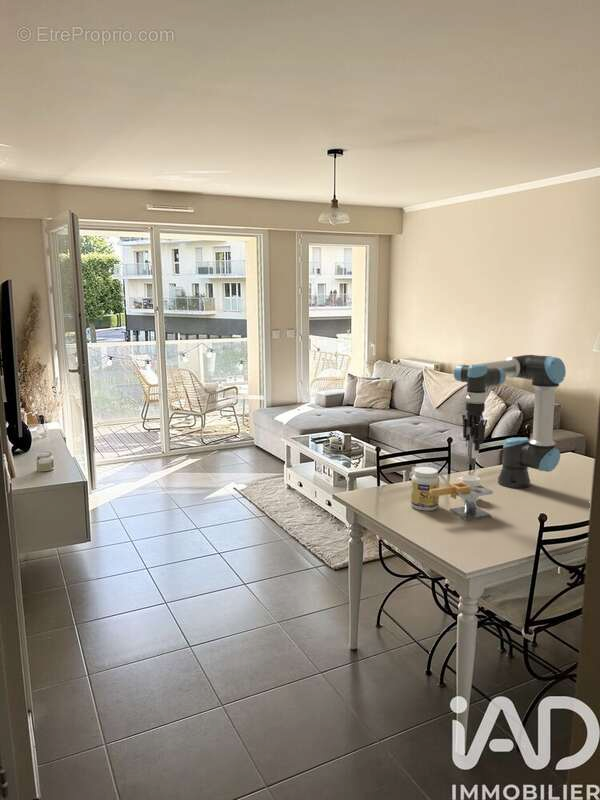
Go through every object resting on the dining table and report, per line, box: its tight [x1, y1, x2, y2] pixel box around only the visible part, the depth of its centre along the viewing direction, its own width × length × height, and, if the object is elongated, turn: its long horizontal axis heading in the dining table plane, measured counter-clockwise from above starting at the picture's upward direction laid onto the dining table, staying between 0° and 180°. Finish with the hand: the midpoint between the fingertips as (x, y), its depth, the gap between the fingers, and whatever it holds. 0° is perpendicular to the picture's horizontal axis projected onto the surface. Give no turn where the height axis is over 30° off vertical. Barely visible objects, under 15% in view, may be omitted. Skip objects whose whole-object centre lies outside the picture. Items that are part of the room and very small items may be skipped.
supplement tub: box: [410, 466, 440, 512], centre depth 261 cm, size 12×12×17 cm
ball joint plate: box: [445, 482, 494, 522], centre depth 253 cm, size 15×12×12 cm
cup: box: [455, 474, 481, 502], centre depth 273 cm, size 8×12×10 cm
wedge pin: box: [466, 426, 477, 466], centre depth 249 cm, size 6×3×16 cm, turn 112°
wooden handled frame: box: [429, 481, 471, 500], centre depth 248 cm, size 17×6×5 cm, turn 112°
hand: (472, 456), depth 250 cm, fingers closed on wedge pin, 3 cm apart
